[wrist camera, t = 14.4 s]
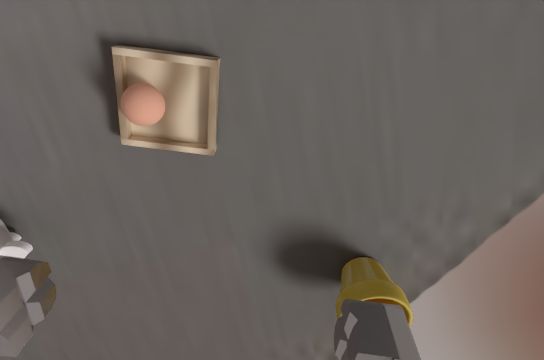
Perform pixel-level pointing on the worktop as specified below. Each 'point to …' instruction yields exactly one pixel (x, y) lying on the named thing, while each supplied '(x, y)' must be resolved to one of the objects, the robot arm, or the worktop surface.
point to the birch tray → (171, 98)
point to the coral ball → (142, 104)
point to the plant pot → (370, 286)
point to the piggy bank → (12, 243)
